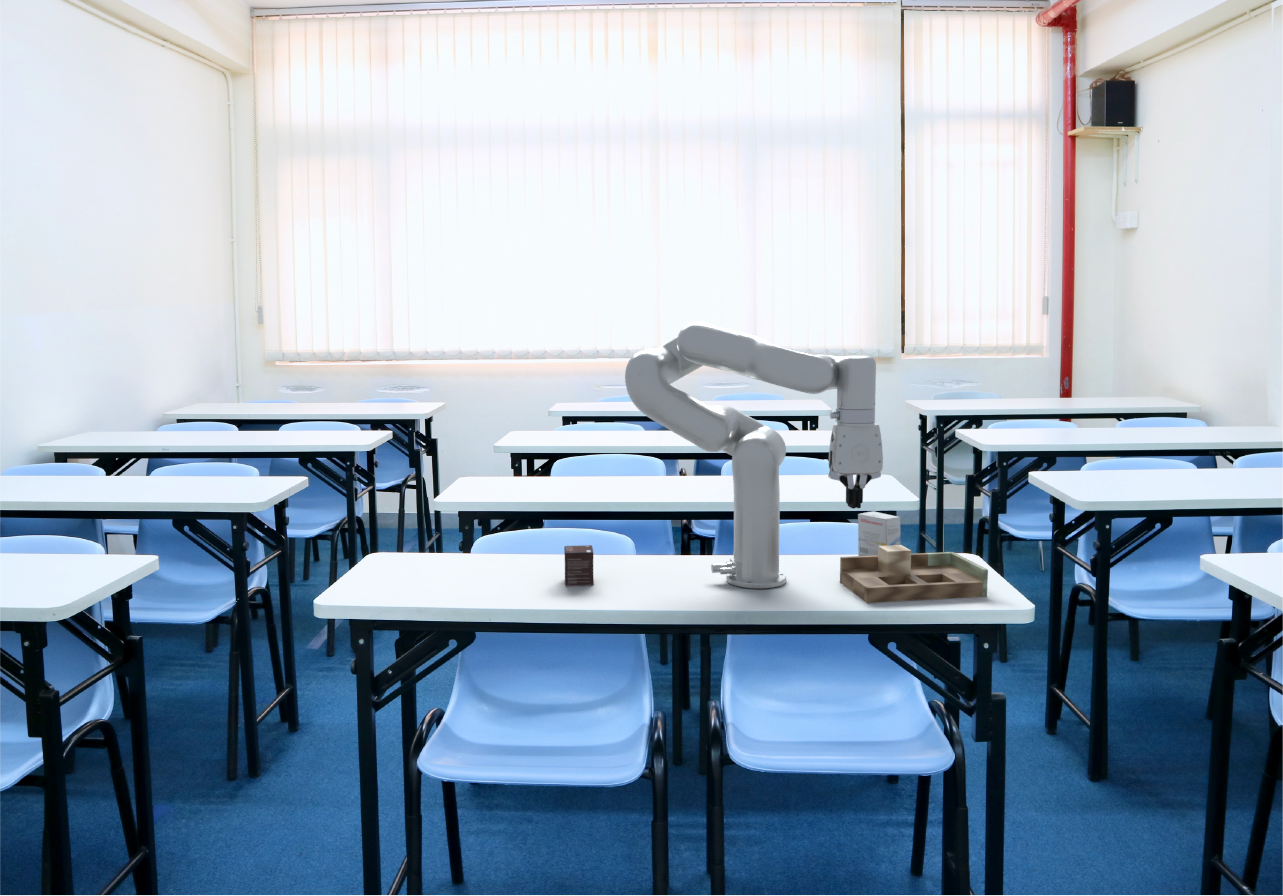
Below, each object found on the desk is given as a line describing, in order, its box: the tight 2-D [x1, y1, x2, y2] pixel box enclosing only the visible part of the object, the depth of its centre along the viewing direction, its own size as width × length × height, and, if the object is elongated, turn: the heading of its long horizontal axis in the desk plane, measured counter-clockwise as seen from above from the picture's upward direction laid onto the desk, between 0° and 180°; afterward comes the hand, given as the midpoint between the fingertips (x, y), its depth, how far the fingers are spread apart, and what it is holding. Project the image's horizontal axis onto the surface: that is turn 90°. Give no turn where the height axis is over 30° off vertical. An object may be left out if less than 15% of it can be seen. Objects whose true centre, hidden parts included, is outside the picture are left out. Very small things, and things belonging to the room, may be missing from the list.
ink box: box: [857, 511, 901, 556], centre depth 215 cm, size 9×5×12 cm, turn 34°
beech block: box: [878, 544, 912, 575], centre depth 200 cm, size 5×5×5 cm
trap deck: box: [839, 551, 989, 604], centre depth 198 cm, size 25×15×6 cm, turn 98°
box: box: [564, 544, 595, 587], centre depth 205 cm, size 6×6×7 cm
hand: (854, 507), depth 197 cm, fingers closed
